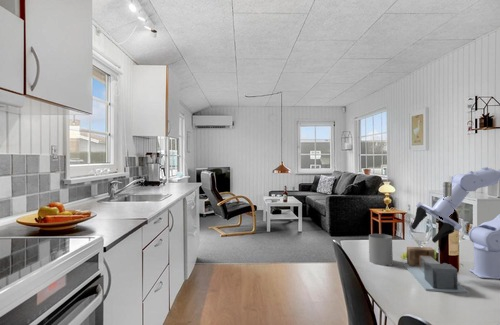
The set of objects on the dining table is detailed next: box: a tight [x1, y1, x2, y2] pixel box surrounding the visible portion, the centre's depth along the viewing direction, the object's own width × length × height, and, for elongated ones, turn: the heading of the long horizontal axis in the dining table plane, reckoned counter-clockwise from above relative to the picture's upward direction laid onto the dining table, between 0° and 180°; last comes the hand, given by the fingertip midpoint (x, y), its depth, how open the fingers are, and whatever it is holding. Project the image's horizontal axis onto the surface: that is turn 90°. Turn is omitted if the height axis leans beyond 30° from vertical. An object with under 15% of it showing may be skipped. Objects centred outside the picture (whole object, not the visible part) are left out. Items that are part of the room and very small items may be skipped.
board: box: [402, 262, 468, 294], centre depth 106 cm, size 11×25×1 cm, turn 168°
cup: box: [368, 233, 394, 266], centre depth 123 cm, size 8×8×10 cm
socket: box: [406, 246, 436, 266], centre depth 116 cm, size 8×4×6 cm, turn 78°
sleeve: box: [424, 262, 459, 290], centre depth 98 cm, size 6×8×6 cm
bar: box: [419, 255, 441, 272], centre depth 104 cm, size 4×17×5 cm, turn 168°
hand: (422, 234), depth 108 cm, fingers open, 7 cm apart
